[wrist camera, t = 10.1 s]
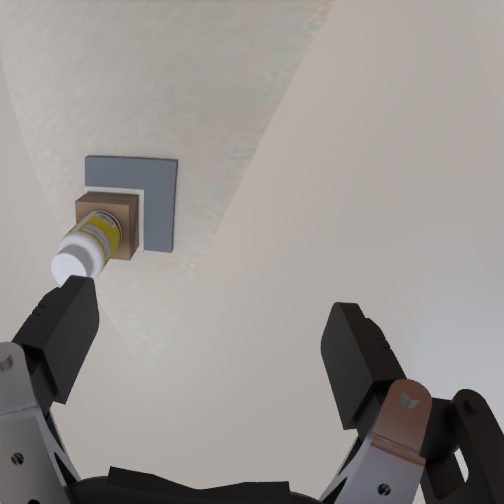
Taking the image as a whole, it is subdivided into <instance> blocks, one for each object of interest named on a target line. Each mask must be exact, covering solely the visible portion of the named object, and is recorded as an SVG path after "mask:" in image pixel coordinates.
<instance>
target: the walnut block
mask: <svg viewBox="0 0 504 504" xmlns="http://www.w3.org/2000/svg"><path fill="white" fill-rule="evenodd" d="M75 208H76V223H77V224H78V223H79V222H80V221H81V220H82V219H83V218H84V217H85V216H86V215H87V214H89V213H90V212H93V211H96V210H102V211H106V212H108V213H110V214H112V215H113V216H114V217H115V218H116V219H117V221H118V222H119V224H120V227H121V230H122V238H121V242H120V244H119V246H118V247H117V249H116V250H115V252H114V253H113V255H112V256H111V258H112V259H121V260H131V258H132V256H133V255H134V253H135V251H136V249H137V248H138V195H130V194H116V193H100V192H87V193H86V194H85V195H83V196H82V197H81V198H79V199H78V200H76V201H75Z"/></svg>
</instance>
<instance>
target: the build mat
mask: <svg viewBox="0 0 504 504" xmlns="http://www.w3.org/2000/svg"><path fill="white" fill-rule="evenodd" d="M177 162H178V160H170V159H155V158H137V157H114V156H87V157H85V186H84V195H85V194H86V193H87V192H100V193H116V194H130V195H138V248H137V249H136V251H143V252H144V250H150V251H160V252H169V253H171V252H172V250H173V227H174V207H175V190H176V175H177Z"/></svg>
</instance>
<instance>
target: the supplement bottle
mask: <svg viewBox="0 0 504 504" xmlns="http://www.w3.org/2000/svg"><path fill="white" fill-rule="evenodd" d="M121 238H122V230H121V227H120V224H119V222H118V221H117V219H116V218H115V217H114V216H113V215H112V214H110V213H108V212H106V211H102V210H96V211H93V212H90V213H89V214H87V215H86V216H85V217H84V218H83V219H82V220H81V221H80V222H79V223H78V224H77V225H76V226H74V227H73V228H72V229H71V230H70V231H69V232H68V233H67V234H66V235H65V236H64V237H63V239H62V240H61V241H60V243H59V245H58V250H57V255H56V256H55V257H54V258H53V260H52V264H51V268H52V273H53V275H54V277H55V279H56V280H57V282H59V284H61V285H63V284H64V283H65V281H66V280H67V279H68V277H69V276H70V275H78V276H85V277H91V278H93V279H95V278H96V277H97V276H98V275H99V274H100V273H101V272H102V270H103V268H104V267H105V265H106V264H107V262H108V261H109V259H110V258H111V256H112V255H113V253H114V252H115V250H116V249H117V247H118V246H119V244H120V242H121Z"/></svg>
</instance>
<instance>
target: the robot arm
mask: <svg viewBox="0 0 504 504" xmlns="http://www.w3.org/2000/svg"><path fill="white" fill-rule="evenodd" d="M98 327H99V311H98V305H97V298H96V291H95V284H94V280H93V278H91V277H85V276H78V275H70V276H69V277H68V279H67V280H66V281H65V283H64V284H63V285H62V287H61V288H59V287H56V288H55V289H53V290H52V291H50V292H49V293H47V294H46V295H45V296H44V297H43V298H42V300H41V301H40V302H39V304H38V306H37V307H35V309H34V310H33V312H32V314H30V316H29V317H28V318H27V320H26V321H25V322H24V324H23V325H22V327H21V328H20V330H19V331H18V332H17V334H16V335H15V337H14V338H13V340H12V341H11V342H1V343H0V503H1V504H412V502H413V500H414V497H415V494H416V491H417V488H418V485H419V482H420V484H421V488H422V492H423V495H424V499H425V502H426V504H504V434H503V432H502V431H501V429H500V427H499V425H498V423H497V421H496V419H495V417H494V415H493V413H492V411H491V409H490V408H489V406H488V404H487V402H486V400H485V399H484V398H483V397H482V396H481V395H480V394H478V393H477V392H475V391H473V390H470V389H462V390H460V391H458V392H457V393H456V395H455V396H454V397H453V399H452V400H446V399H439V398H433V397H431V395H430V393H429V391H428V390H427V389H426V388H425V387H424V386H423V385H421V384H420V383H418V382H416V381H414V380H411V379H407V378H406V376H405V374H404V372H403V370H402V368H401V366H400V364H399V362H398V360H397V358H396V356H395V355H394V353H393V351H392V349H390V345H389V343H388V342H387V340H386V338H385V336H384V334H383V332H382V331H381V329H380V328H379V326H377V325H376V324H375V323H374V322H373V321H372V320H371V319H370V318H365V316H364V315H363V313H362V311H361V309H360V307H359V305H358V304H356V303H342V302H336V303H334V305H333V306H332V309H331V312H330V315H329V318H328V321H327V324H326V327H325V330H324V333H323V336H322V340H321V355H322V358H323V361H324V364H325V368H326V371H327V374H328V378H329V381H330V384H331V388H332V391H333V395H334V398H335V401H336V404H337V408H338V412H339V415H340V418H341V422H342V425H343V429H344V430H348V429H357V431H358V436H357V437H356V439H355V440H354V442H353V444H352V446H351V448H350V450H349V452H348V454H347V455H346V457H345V459H344V461H343V463H342V464H341V466H340V468H339V470H338V471H337V473H336V475H335V477H334V478H333V480H332V482H331V483H330V484H329V486H328V487H327V489H326V490H325V491H324V493H323V494H322V495H321V497H320V498H319V500H317V499H315V498H312V497H310V496H307V495H304V494H300V493H297V492H292V491H290V489H289V482H288V481H283V482H243V483H238V484H233V485H227V486H221V487H215V488H209V489H193V488H190V487H187V486H184V485H181V484H178V483H175V482H172V481H169V480H167V479H164V478H161V477H158V476H156V475H153V474H148V473H142V472H137V471H131V470H126V469H121V468H116V467H112V466H110V470H109V474H108V476H99V477H92V478H87V479H83V480H81V478H80V477H79V475H78V473H77V471H76V470H75V468H74V466H73V464H72V463H71V460H70V458H69V456H68V454H67V452H66V449H65V447H64V444H63V442H62V439H61V437H60V434H59V432H58V430H57V426H56V424H55V421H54V418H53V415H52V413H51V411H50V407H51V405H52V402H53V401H54V402H58V403H61V404H66V401H67V399H68V396H69V394H70V392H71V389H72V387H73V384H74V382H75V380H76V378H77V375H78V373H79V371H80V368H81V366H82V364H83V362H84V359H85V357H86V355H87V353H88V351H89V348H90V346H91V344H92V342H93V340H94V338H95V336H96V333H97V331H98ZM459 448H460V450H461V452H462V455H463V457H464V460H465V462H466V465H467V468H468V472H469V474H468V479H467V481H466V482H465V481H464V478H463V476H462V473H461V470H460V468H459V465H458V462H457V460H456V457H455V454H454V453H455V452H456V451H457V450H458V449H459Z"/></svg>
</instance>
